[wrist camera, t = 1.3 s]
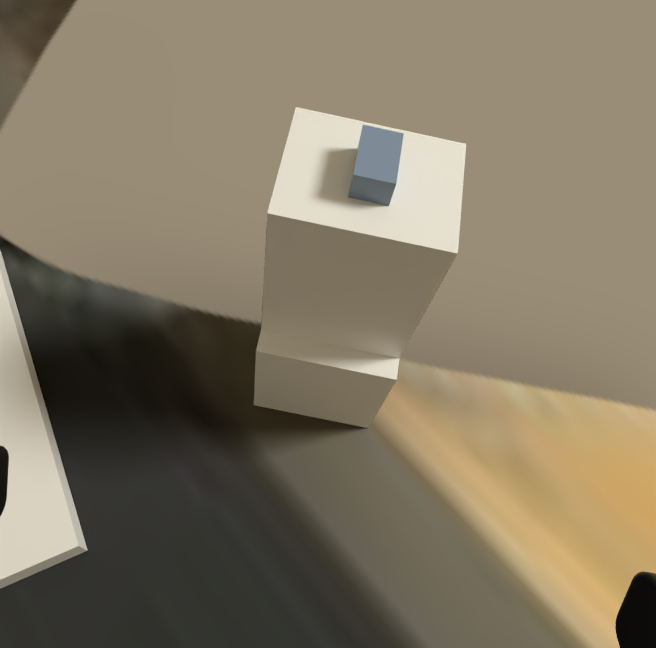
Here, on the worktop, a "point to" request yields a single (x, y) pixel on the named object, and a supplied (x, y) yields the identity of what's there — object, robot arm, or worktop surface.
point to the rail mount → (30, 462)
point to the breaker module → (351, 261)
